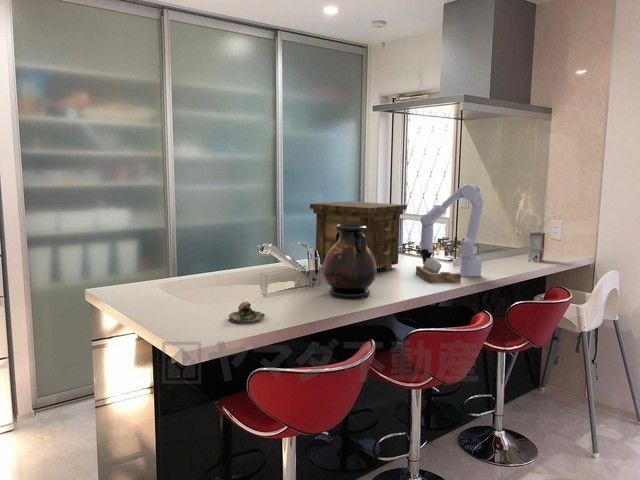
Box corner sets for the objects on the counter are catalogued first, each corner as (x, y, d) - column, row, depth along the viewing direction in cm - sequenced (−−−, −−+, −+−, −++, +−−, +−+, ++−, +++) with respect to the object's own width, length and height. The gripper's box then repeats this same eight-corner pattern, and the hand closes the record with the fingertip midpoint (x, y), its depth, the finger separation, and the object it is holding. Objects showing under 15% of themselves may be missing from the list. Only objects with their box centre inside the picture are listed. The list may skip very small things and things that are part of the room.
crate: (348, 260, 294) (349, 201, 289) (404, 268, 273) (406, 204, 268) (309, 268, 266) (310, 203, 262) (368, 278, 245) (370, 208, 241)
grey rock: (436, 278, 252) (446, 261, 254) (421, 268, 253) (431, 251, 255) (432, 280, 260) (442, 264, 262) (417, 271, 261) (427, 255, 263)
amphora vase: (387, 297, 208) (389, 227, 205) (342, 304, 197) (344, 229, 193) (355, 286, 226) (356, 222, 223) (312, 292, 215) (313, 224, 211)
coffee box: (531, 259, 308) (533, 231, 306) (543, 260, 305) (545, 232, 302) (527, 261, 301) (529, 233, 299) (539, 262, 297) (541, 234, 295)
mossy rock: (234, 327, 167) (234, 304, 166) (224, 317, 177) (224, 295, 176) (270, 323, 172) (270, 300, 171) (258, 314, 182) (258, 293, 181)
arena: (445, 274, 258) (446, 264, 258) (460, 282, 239) (461, 272, 239) (415, 274, 257) (416, 264, 256) (428, 282, 237) (429, 272, 237)
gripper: (415, 236, 272) (413, 262, 273) (423, 240, 257) (422, 267, 259) (428, 236, 273) (427, 262, 274) (437, 240, 258) (436, 267, 260)
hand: (425, 264), depth 267 cm, fingers closed
